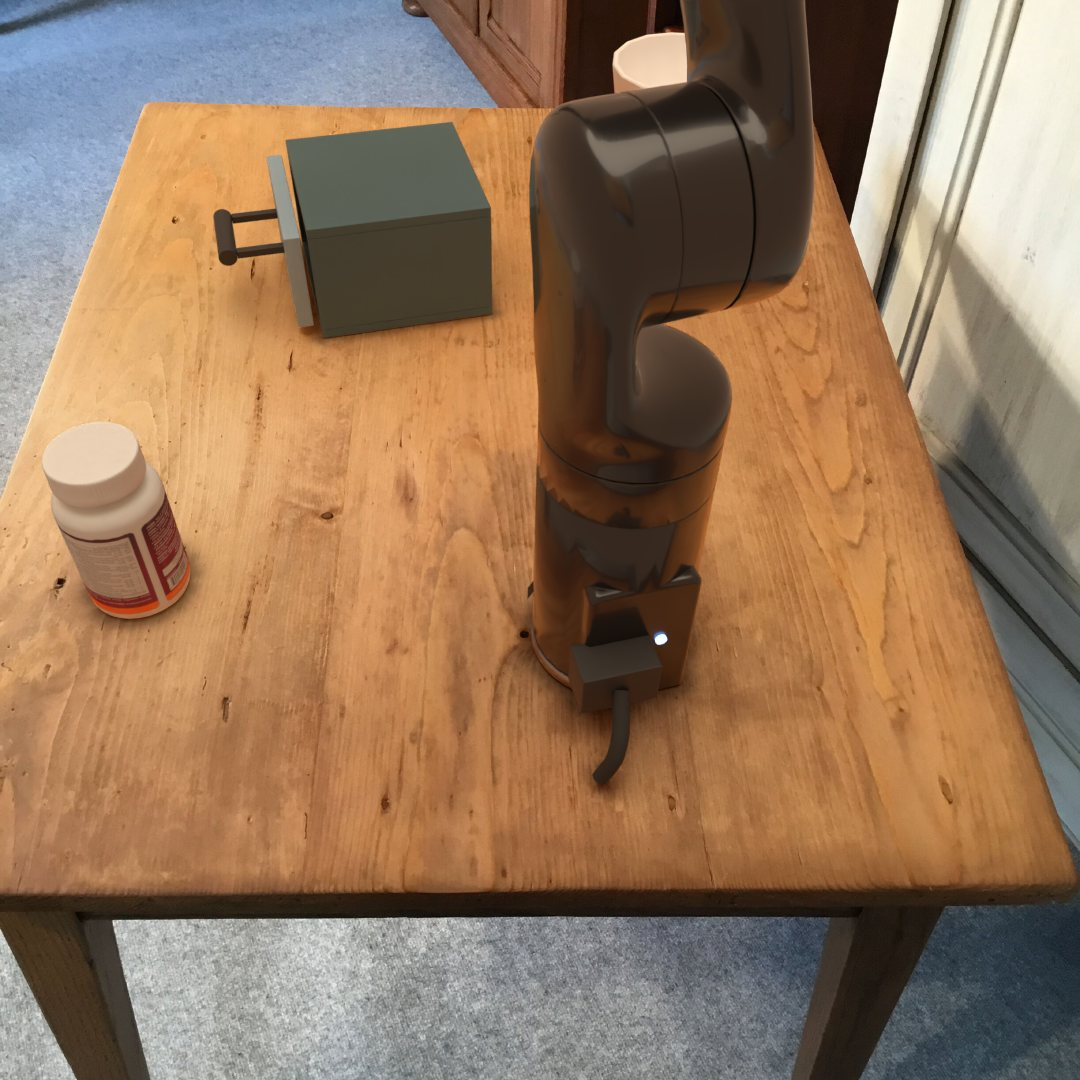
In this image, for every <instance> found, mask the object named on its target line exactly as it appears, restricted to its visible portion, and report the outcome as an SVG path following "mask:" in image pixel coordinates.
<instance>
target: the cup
mask: <svg viewBox="0 0 1080 1080" xmlns="http://www.w3.org/2000/svg"><path fill="white" fill-rule="evenodd" d="M612 75H613V91H614V93H620V92H625V91H632V90H638V89H645V88H651V87H657V86H664V85H670V84H677V83H683V82H687V55H686V42H685V33H684V32H673V31H672V32H662V33H661V32H660V33H652V34H645V35H642V36H639V37H636V38H633V39H631V40H628V41H626V42H625V43H624V44H622V45H621V46H620V47H618V49H616V50H615V51H614V52H613V58H612Z"/></svg>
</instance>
